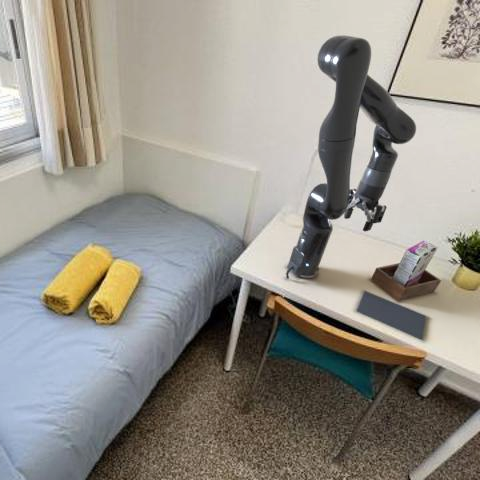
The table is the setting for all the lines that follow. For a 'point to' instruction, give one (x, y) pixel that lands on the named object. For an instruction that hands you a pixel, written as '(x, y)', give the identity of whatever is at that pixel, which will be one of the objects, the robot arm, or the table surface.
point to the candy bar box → (414, 263)
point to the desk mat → (392, 314)
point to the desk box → (400, 292)
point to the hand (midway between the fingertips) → (355, 224)
